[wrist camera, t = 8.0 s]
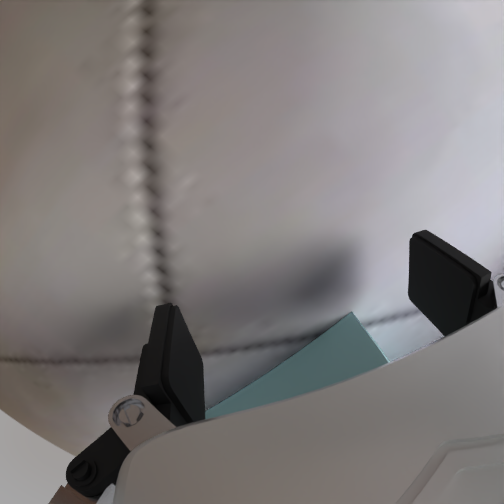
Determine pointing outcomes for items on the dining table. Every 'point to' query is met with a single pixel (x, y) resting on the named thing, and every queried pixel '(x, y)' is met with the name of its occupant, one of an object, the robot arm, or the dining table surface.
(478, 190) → the dining table surface
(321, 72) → the dining table surface
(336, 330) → the teal block
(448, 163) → the dining table surface
